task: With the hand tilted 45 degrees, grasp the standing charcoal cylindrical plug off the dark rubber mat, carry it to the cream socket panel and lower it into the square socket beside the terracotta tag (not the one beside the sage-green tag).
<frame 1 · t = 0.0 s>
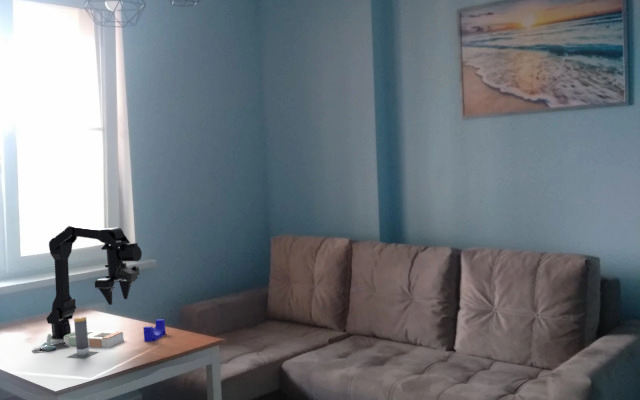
hand: (118, 301, 254), 15 cm above the table, tool pointing down, fingers open, 9 cm apart
mat: (83, 356, 236), on the table
pacifier: (46, 351, 246), on the table
socket panel: (94, 343, 252), on the table
plug: (83, 354, 236), point 1 cm above the table, touching mat
cable clip: (153, 339, 255), on the table
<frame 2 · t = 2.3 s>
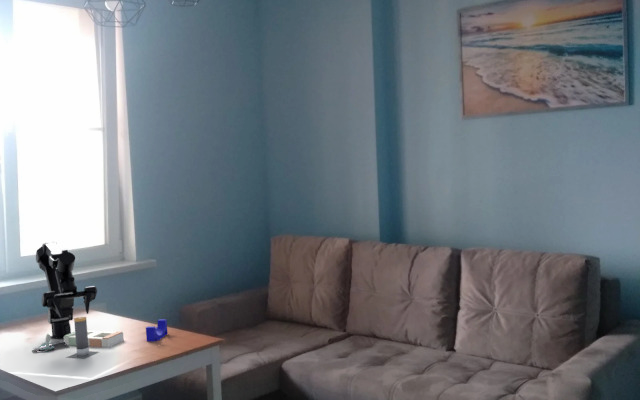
hand: (74, 315, 242), 13 cm above the table, tool tilted 45°, fingers open, 9 cm apart
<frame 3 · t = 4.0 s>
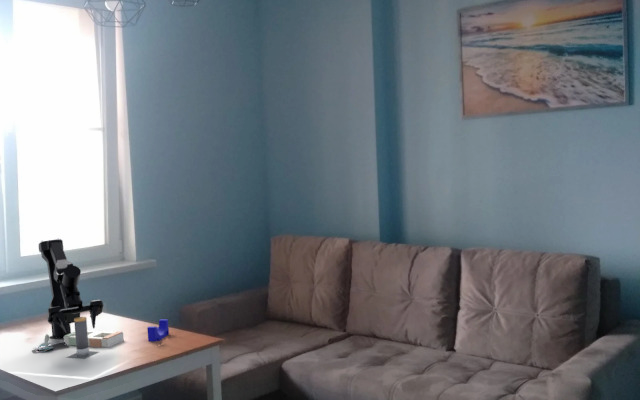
hand: (80, 330, 236), 9 cm above the table, tool tilted 45°, fingers open, 9 cm apart
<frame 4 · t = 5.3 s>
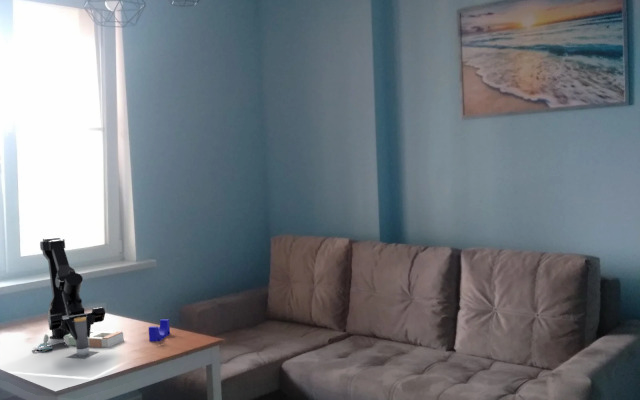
hand: (82, 338, 234), 7 cm above the table, tool tilted 45°, fingers closed on plug, 4 cm apart
plug: (83, 354, 236), point 1 cm above the table, touching gripper, mat
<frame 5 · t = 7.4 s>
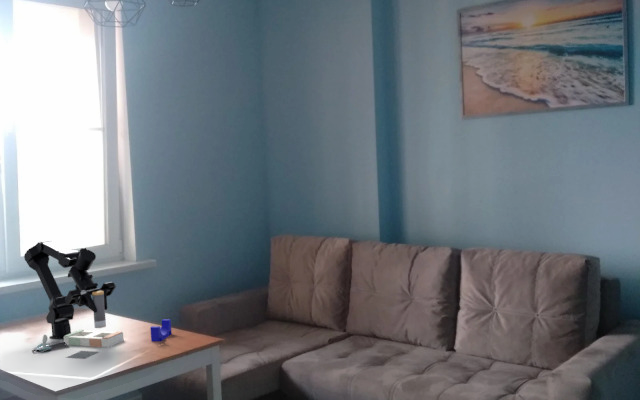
hand: (101, 310, 247), 13 cm above the table, tool tilted 45°, fingers closed on plug, 4 cm apart
plug: (100, 326, 248), point 7 cm above the table, touching gripper
when the fingers open (7 cm above the table, at t = 9.4 s): plug drops 1 cm, resting in socket panel.
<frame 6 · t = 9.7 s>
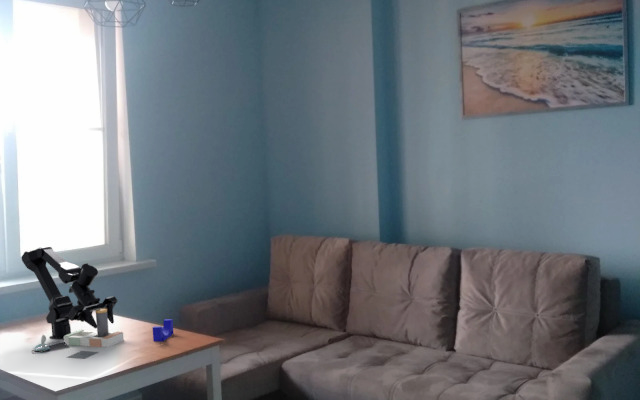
hand: (104, 325, 249), 7 cm above the table, tool tilted 45°, fingers open, 7 cm apart
plug: (103, 344, 250), resting in socket panel
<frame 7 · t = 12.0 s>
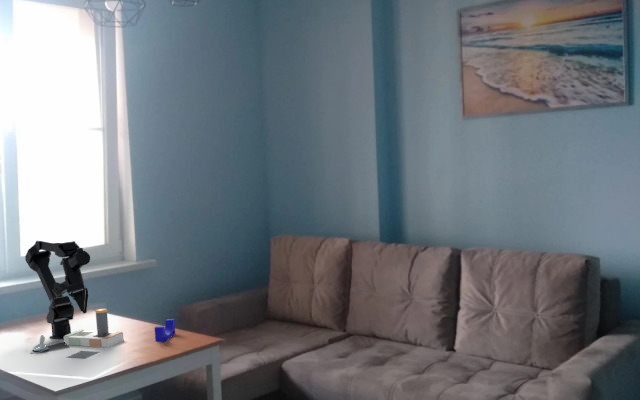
hand: (83, 312, 252), 12 cm above the table, tool tilted 20°, fingers open, 9 cm apart
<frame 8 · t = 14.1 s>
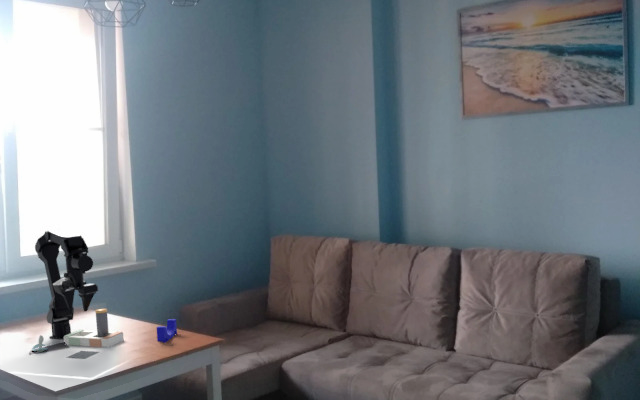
hand: (77, 310, 251), 13 cm above the table, tool pointing down, fingers open, 9 cm apart
at the end: plug 0.1 cm from the target spot on the socket panel, point 0.0 cm above the socket panel's base; plug tilted 0°; the gripper is holding nothing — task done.
